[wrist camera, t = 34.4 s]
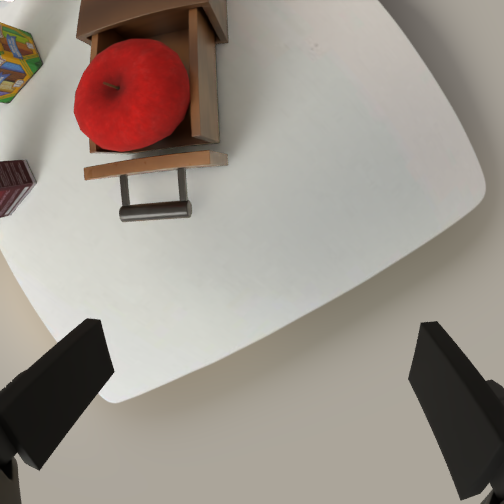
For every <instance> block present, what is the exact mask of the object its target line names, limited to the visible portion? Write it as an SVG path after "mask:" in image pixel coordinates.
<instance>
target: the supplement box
mask: <svg viewBox="0 0 504 504" xmlns="http://www.w3.org/2000/svg"><path fill="white" fill-rule="evenodd" d="M35 184H36V181H35V179H34V177H33V174H32V172H31V170H30V168H29V166H28V163H27V161H26V160H14V161H1V162H0V218H1V217H5V216H8V215H11V214H12V213H13V212H14V210H15V209H16V208H17V206H18V205H19V204H20V203H21V201H22V200H23V199H24V198H25V196H26V195H27V194H28V193H29V192H30V190H31V189H32V188H33V187H34V186H35Z"/></svg>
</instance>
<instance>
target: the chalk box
mask: <svg viewBox="0 0 504 504" xmlns="http://www.w3.org/2000/svg"><path fill="white" fill-rule="evenodd" d="M41 65H42V62H41V60H40V58H39V55H38V52H37V50H36V47H35V44H34V42H33V39H32V37H31V34H30V33H28V32H25V31H23V30H20V29H17V28H14V27H12V26H9V25H6V24H3V23H0V102H2V103H10V101H11V100H12V99H13V98H14V96H15V95H16V94H17V93H18V92H19V90H20V89H21V88H22V87H23V86H24V84H25V83H26V82H27V81H28V80H29V79H30V77H31V76H32V75H33V74H34V73H35V72H36V71H37V70H38V69H39V68H40V66H41Z"/></svg>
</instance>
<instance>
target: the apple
mask: <svg viewBox="0 0 504 504" xmlns="http://www.w3.org/2000/svg"><path fill="white" fill-rule="evenodd" d="M189 104H190V83H189V78H188V74H187V70H186V69H185V67H184V65H183V63H182V61H181V59H180V58H179V56H178V54H177V53H176V52H175V51H173V50H172V49H171V48H169V47H168V46H166V45H165V44H164V43H162V42H160V41H156V40H152V39H128V40H125V41H122V42H118V43H115V44H112V45H111V46H109V47H108V48H106V49H105V50H103V51H102V52H100V53H99V54H97V55H96V56H95V57H94V59H93V60H92V61H91V63H90V64H89V66H88V67H87V68H86V70H85V71H84V73H83V75H82V77H81V80H80V82H79V85H78V87H77V90H76V92H75V103H74V114H75V117H76V120H77V122H78V125H79V127H80V130H81V131H82V132H83V133H84V134H85V135H86V136H87V137H89V138H90V139H91V140H92V141H93V142H94V143H95V144H97V145H98V146H99V147H101V148H102V149H107V150H113V151H119V152H125V151H130V150H135V149H140V148H144V147H146V146H149V145H152V144H154V143H156V142H158V141H160V140H162V139H163V138H165V137H167V136H169V135H171V134H172V133H173V131H174V130H175V129H176V128H177V126H178V125H179V124H180V123H181V122H182V121H183V120H184V118H185V115H186V112H187V110H188V107H189Z"/></svg>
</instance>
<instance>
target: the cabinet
mask: <svg viewBox="0 0 504 504" xmlns="http://www.w3.org/2000/svg"><path fill="white" fill-rule="evenodd" d="M196 7H203V9H204V11H205V13H206V15H207V17H208V18H209V20H210V22H211V24H212V26H213V28H214V30H215V44H222V43H228V26H227V2H226V0H81V5H80V12H79V18H78V26H77V34H76V38H77V39H79V40H81V41H83V42H85V43H87V44H89V45H90V46H91V43H92V35H95V34H97V33H100V32H103V31H106V30H109V29H112V28H115V27H118V26H121V25H125V24H128V23H131V22H135V21H138V20H142V19H146V18H150V17H154V16H158V15H162V14H166V13H171V12H175V11H180V10H185V9H191V8H196Z"/></svg>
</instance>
